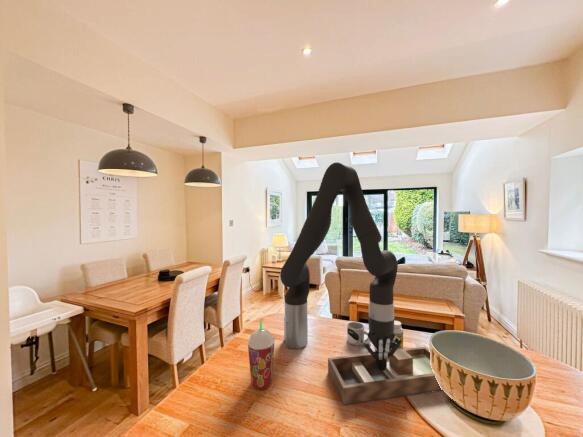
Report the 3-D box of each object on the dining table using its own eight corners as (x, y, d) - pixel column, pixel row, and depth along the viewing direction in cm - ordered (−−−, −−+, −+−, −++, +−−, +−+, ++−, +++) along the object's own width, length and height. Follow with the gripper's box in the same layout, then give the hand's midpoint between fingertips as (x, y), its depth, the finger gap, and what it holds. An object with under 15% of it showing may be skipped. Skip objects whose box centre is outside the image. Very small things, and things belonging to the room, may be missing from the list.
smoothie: (279, 377, 81) (278, 317, 80) (268, 395, 73) (267, 329, 72) (256, 372, 83) (255, 313, 82) (243, 389, 75) (242, 325, 75)
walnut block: (398, 375, 76) (398, 359, 76) (389, 365, 81) (389, 350, 81) (412, 373, 77) (413, 357, 77) (403, 363, 82) (403, 348, 82)
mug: (344, 341, 102) (344, 325, 101) (353, 335, 106) (353, 320, 106) (365, 351, 94) (365, 334, 94) (374, 344, 99) (374, 328, 99)
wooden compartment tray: (343, 405, 69) (343, 388, 69) (328, 372, 83) (327, 357, 82) (456, 388, 75) (457, 372, 74) (424, 360, 88) (424, 346, 88)
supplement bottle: (393, 341, 101) (393, 318, 101) (406, 347, 97) (406, 323, 96) (385, 345, 98) (385, 321, 98) (397, 351, 94) (398, 327, 93)
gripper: (393, 308, 82) (393, 359, 83) (356, 311, 80) (356, 364, 80) (408, 318, 74) (407, 374, 75) (366, 322, 72) (367, 379, 73)
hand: (381, 369), depth 78 cm, fingers closed
